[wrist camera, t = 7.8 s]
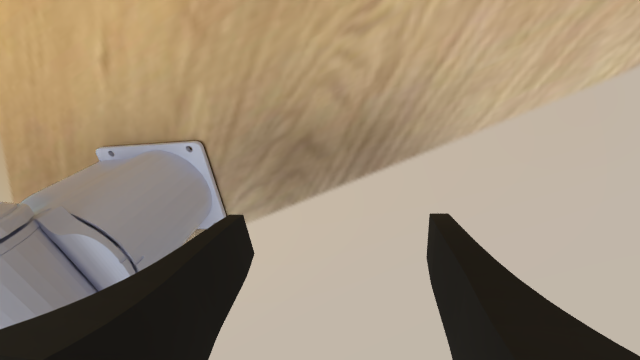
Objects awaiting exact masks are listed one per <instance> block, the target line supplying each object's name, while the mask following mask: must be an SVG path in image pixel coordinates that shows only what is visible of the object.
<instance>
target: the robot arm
mask: <svg viewBox="0 0 640 360" xmlns="http://www.w3.org/2000/svg"><path fill="white" fill-rule="evenodd" d="M189 146H190V147H191V148H192V150H191V149H190V148H189ZM96 155H97V157H98V159H99V160H100V161H99V162H97V163H95V164H93V165H91V166H89V167H87V168H85V169H83V170H81V171H79V172H77V173H75V174H73V175H71V176H69V177H67V178H65V179H63V180H61V181H59V182H57V183H55V184H53V185H50V186H48V187H46V188H44V189H42V190H40V191H38V192H36V193H34V194H32V195H31V196H29V197H27V198H26V199H25V200H23V201H22V202H21V203H20V204H14V203H7V202H0V360H208V358H209V356H210V353H211V351H212V348H213V346H214V343H215V340H216V338H217V336H218V334H219V331H220V329H221V327H222V325H223V323H224V321H225V319H226V317H227V315H228V313H229V311H230V309H231V307H232V305H233V303H234V301H235V299H236V297H237V295H238V293H239V291H240V289H241V287H242V285H243V283H244V281H245V279H246V277H247V274H248V271H249V268H250V266H251V262H252V259H253V256H254V250H253V247H252V244H251V240H250V237H249V233H248V230H247V227H246V223H245V220H244V216H243V215H228V216H226V214H225V211H224V208H223V205H222V201H221V198H220V195H219V192H218V189H217V186H216V183H215V180H214V177H213V174H212V171H211V168H210V165H209V162H208V159H207V156H206V153H205V150H204V147H203V145H202V144H201V143H200V142H198V141H187V142H171V143H156V144H140V145H124V146H109V147H100V148H98V149H96ZM196 229H206V230H205V231H203V232H202V233H200V234H199V235H197V236H196V237H194V238H193V239H191V240H190V241H188V242H187V243H185V241H186V240H187V239H188V238H189V237H190V236H191V235H192V233H193V232H194V231H195V230H196ZM184 243H185V244H184ZM183 244H184V245H183ZM427 262H428V269H429V274H430V280H431V285H432V289H433V292H434V295H435V299H436V302H437V306H438V309H439V313H440V316H441V319H442V323H443V326H444V330H445V333H446V336H447V340H448V343H449V347H450V351H451V354H452V358H453V360H640V356H638V355H637V354H635V353H633V352H631V351H629V350H627V349H626V348H624V347H622V346H620V345H619V344H617V343H615V342H613V341H612V340H610V339H608V338H607V337H605V336H603V335H602V334H600V333H598V332H597V331H595V330H593V329H592V328H590V327H588V326H587V325H585V324H584V323H582V322H581V321H579V320H577V319H576V318H574V317H573V316H571V315H570V314H568V313H566V312H565V311H563V310H562V309H560V308H559V307H557V306H556V305H554V304H553V303H551V302H550V301H548V300H547V299H546V298H544V297H543V296H541V295H540V294H539V293H537V292H536V291H534V290H533V289H532V288H530V287H529V286H528V285H526V284H525V283H524V282H522V281H521V280H520V279H518V278H517V277H516V276H515V275H513V274H512V273H511V272H510V271H508V270H507V269H506V268H505V267H504V266H502V265H501V264H500V263H499V262H497V260H495V259H494V258H493V257H492V256H491V255H490V254H489V253H488V252H486V251H485V250H484V249H483V248H482V247H481V246H480V245H479V244H478V243H477V242H476V241H475V240H474V239H473V238H472V237H471V236H470V235H469V234H468V233H467V232H466V231H465V230H464V229H463V228H462V227H461V226H460V225H459V224H458V223H457V222H456V221H455V220H454V219H453V218H452V217H451V216H450V215H449V214H430V218H429V232H428V246H427Z"/></svg>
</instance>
